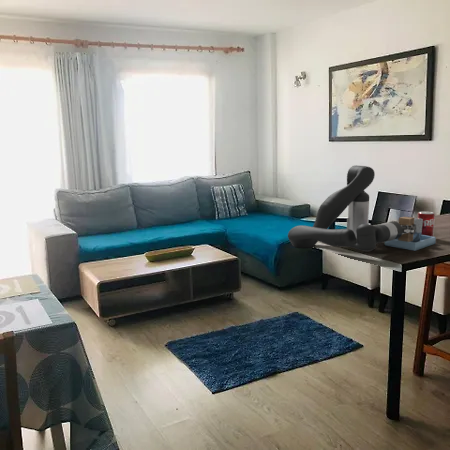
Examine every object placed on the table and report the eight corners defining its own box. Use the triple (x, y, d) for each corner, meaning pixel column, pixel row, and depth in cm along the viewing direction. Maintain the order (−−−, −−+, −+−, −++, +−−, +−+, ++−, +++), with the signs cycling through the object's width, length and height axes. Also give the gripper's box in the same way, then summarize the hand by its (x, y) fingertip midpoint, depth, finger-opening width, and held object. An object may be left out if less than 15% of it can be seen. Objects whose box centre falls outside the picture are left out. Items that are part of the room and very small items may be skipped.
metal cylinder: (409, 242, 219) (411, 219, 217) (407, 239, 224) (409, 217, 222) (421, 242, 218) (423, 220, 216) (419, 240, 223) (421, 218, 221)
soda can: (412, 237, 233) (414, 211, 231) (425, 236, 235) (426, 210, 233) (424, 240, 226) (425, 214, 224) (436, 239, 229) (438, 213, 226)
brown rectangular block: (407, 242, 213) (409, 219, 211) (397, 240, 216) (399, 217, 214) (413, 240, 216) (414, 217, 214) (403, 239, 219) (404, 216, 217)
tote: (414, 250, 208) (415, 243, 207) (384, 245, 218) (384, 238, 218) (435, 243, 220) (435, 237, 219) (405, 238, 230) (405, 232, 229)
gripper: (372, 237, 211) (394, 232, 223) (404, 243, 201) (424, 236, 212) (373, 220, 210) (394, 215, 221) (405, 224, 199) (426, 219, 211)
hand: (409, 226), depth 217 cm, fingers closed on brown rectangular block, 4 cm apart
